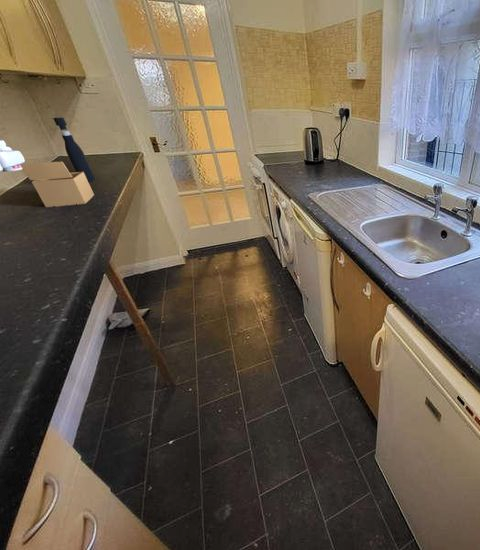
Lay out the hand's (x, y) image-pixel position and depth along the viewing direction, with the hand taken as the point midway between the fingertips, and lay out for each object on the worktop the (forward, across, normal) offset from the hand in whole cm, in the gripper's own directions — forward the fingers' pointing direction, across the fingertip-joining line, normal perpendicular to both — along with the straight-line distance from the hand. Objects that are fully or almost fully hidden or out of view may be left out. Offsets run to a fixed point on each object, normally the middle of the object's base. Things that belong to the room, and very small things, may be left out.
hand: (5, 153), depth 104 cm
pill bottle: (-1, 0, -6) cm, 6 cm away
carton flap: (+10, +2, -8) cm, 13 cm away
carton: (+17, -1, -22) cm, 28 cm away
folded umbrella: (+53, -18, -23) cm, 61 cm away
